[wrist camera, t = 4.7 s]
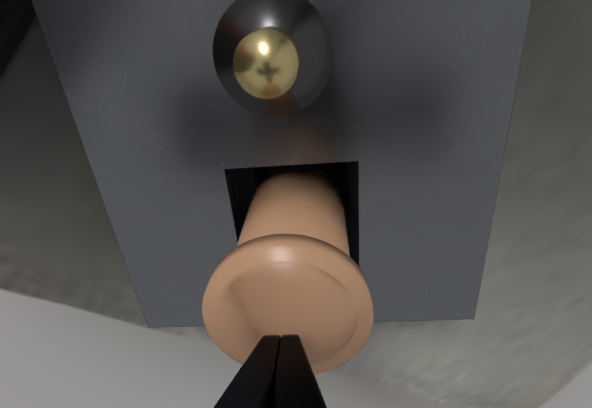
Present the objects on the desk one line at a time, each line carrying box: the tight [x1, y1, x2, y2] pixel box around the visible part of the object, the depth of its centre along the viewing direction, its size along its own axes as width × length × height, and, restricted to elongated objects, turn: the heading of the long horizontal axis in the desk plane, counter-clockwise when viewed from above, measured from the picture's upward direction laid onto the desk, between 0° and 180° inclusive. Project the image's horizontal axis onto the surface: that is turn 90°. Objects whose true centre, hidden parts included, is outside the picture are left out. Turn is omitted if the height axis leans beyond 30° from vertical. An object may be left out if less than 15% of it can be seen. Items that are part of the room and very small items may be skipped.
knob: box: [202, 165, 374, 374], centre depth 12 cm, size 4×4×6 cm
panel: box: [32, 0, 531, 328], centre depth 13 cm, size 14×22×5 cm, turn 5°
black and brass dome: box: [213, 0, 333, 117], centre depth 10 cm, size 3×3×4 cm
